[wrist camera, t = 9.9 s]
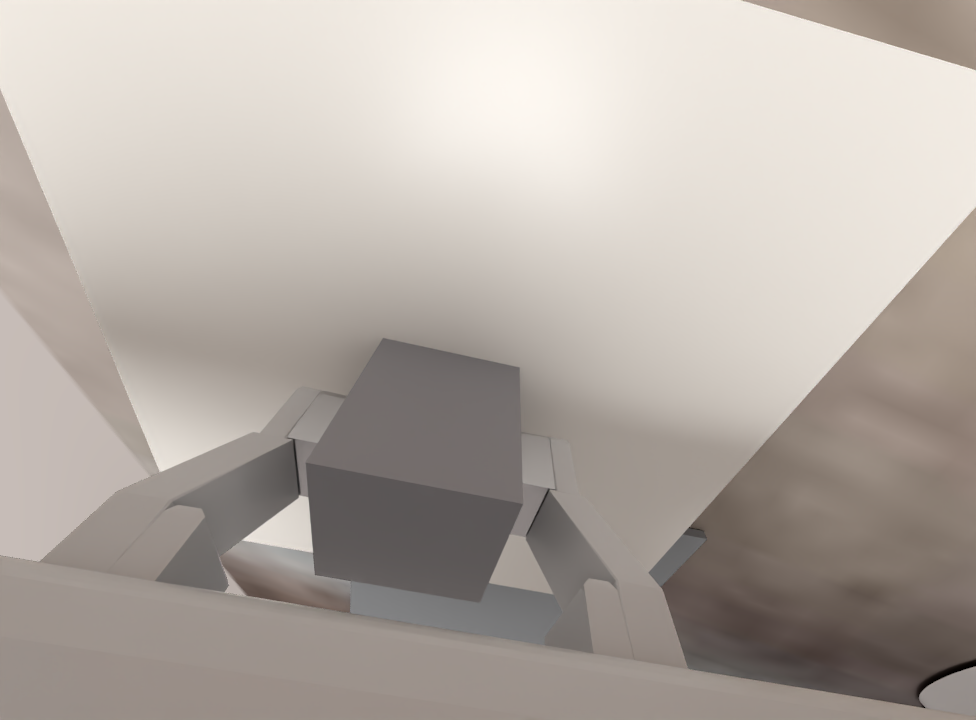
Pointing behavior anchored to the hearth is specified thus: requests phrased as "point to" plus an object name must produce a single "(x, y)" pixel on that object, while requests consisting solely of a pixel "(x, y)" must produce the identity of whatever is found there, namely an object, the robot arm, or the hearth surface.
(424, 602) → the charcoal mat
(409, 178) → the cover sheet
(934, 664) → the hearth surface
